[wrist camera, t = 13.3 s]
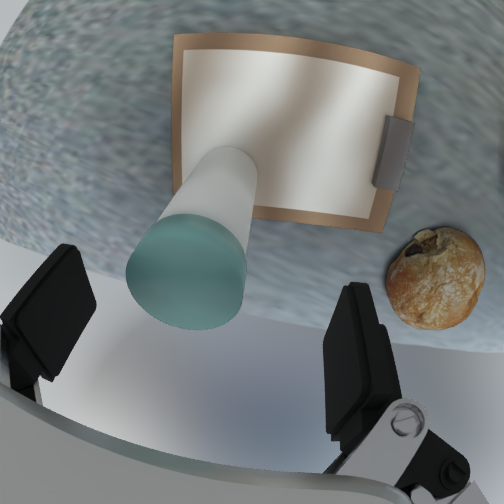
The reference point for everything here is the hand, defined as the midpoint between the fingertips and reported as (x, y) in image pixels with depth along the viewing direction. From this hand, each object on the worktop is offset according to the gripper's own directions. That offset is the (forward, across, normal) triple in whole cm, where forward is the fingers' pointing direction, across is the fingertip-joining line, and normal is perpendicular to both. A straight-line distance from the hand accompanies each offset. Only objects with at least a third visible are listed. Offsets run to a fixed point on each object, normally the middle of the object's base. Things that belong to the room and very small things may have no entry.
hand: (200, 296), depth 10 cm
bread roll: (+14, -18, +7) cm, 24 cm away
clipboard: (+13, -3, -3) cm, 14 cm away
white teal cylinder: (+12, +1, 0) cm, 12 cm away
